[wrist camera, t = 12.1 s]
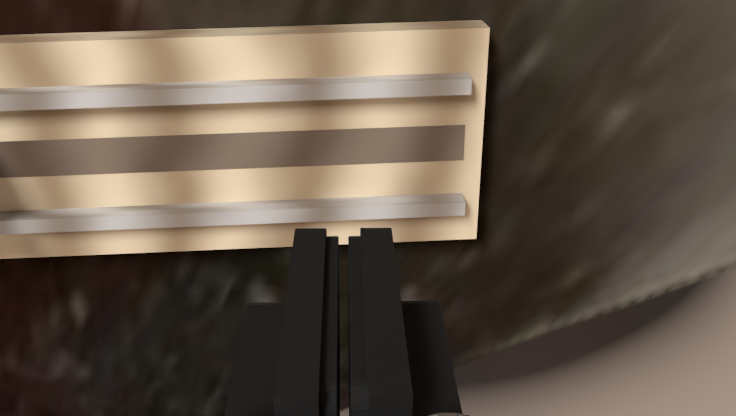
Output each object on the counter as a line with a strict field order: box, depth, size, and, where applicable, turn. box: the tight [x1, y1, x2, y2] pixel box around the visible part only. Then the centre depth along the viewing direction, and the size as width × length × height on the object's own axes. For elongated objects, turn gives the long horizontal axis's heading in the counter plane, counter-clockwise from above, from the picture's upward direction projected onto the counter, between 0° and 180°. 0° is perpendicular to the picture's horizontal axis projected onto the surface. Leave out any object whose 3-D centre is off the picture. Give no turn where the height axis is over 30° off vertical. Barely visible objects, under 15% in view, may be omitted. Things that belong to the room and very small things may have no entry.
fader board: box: [0, 20, 490, 259], centre depth 34 cm, size 34×12×3 cm, turn 91°
